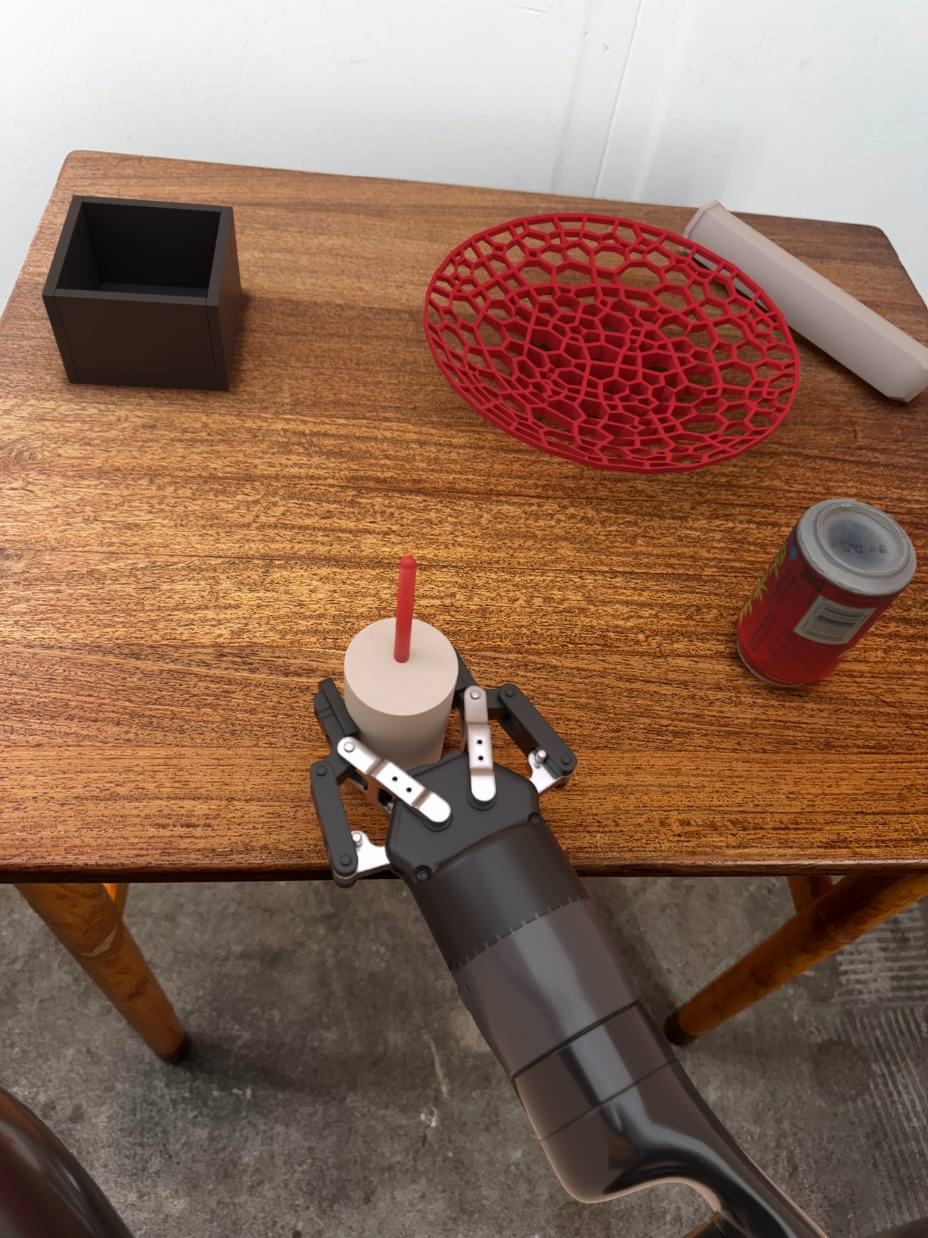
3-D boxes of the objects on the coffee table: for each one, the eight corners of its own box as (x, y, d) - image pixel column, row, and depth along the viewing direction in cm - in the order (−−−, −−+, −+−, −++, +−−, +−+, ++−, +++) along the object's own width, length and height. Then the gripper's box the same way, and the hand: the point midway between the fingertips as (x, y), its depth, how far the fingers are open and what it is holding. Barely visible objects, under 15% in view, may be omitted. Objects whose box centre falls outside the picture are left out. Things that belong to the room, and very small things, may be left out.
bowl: (788, 546, 67) (817, 501, 63) (390, 478, 67) (394, 428, 63) (763, 295, 84) (786, 246, 80) (444, 239, 83) (450, 186, 79)
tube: (959, 355, 76) (729, 199, 84) (938, 363, 72) (700, 198, 81) (915, 408, 79) (699, 253, 88) (894, 418, 76) (670, 255, 84)
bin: (69, 383, 68) (40, 294, 62) (95, 283, 75) (72, 194, 68) (228, 391, 70) (217, 305, 63) (241, 292, 76) (232, 205, 70)
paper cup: (341, 795, 53) (342, 648, 40) (344, 706, 56) (346, 542, 43) (442, 795, 54) (476, 651, 40) (439, 707, 57) (469, 546, 44)
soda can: (841, 698, 61) (941, 590, 50) (737, 694, 60) (817, 583, 50) (816, 609, 64) (904, 492, 54) (718, 604, 64) (789, 485, 54)
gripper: (673, 855, 43) (499, 584, 50) (393, 1002, 38) (247, 678, 46) (630, 903, 49) (481, 655, 57) (386, 1034, 44) (258, 744, 52)
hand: (378, 666), depth 51 cm, fingers closed on paper cup, 5 cm apart
